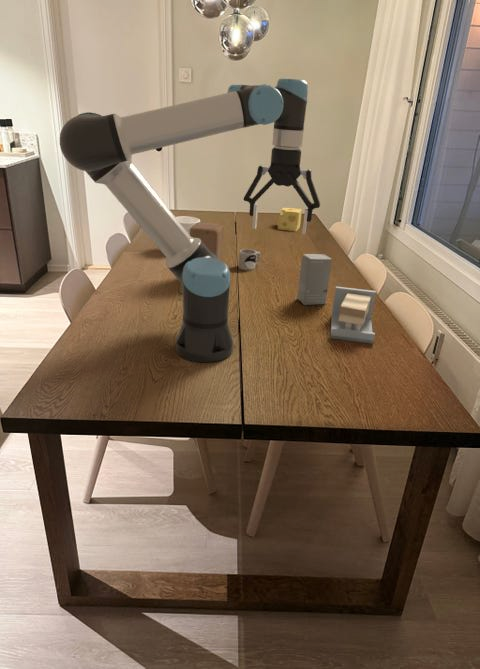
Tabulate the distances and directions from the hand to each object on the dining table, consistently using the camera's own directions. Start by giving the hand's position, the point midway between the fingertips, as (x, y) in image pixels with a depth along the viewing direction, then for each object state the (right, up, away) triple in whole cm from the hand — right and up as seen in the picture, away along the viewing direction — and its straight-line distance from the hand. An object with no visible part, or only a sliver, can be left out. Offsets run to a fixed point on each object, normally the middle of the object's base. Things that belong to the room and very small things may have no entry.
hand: (278, 230), depth 133 cm
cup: (-34, +7, +76) cm, 83 cm away
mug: (-7, -2, +62) cm, 62 cm away
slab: (+23, -23, +12) cm, 34 cm away
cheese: (+15, +27, +124) cm, 127 cm away
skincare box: (+13, -17, +32) cm, 39 cm away
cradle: (+23, -27, +14) cm, 38 cm away
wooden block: (-23, -9, +45) cm, 51 cm away
